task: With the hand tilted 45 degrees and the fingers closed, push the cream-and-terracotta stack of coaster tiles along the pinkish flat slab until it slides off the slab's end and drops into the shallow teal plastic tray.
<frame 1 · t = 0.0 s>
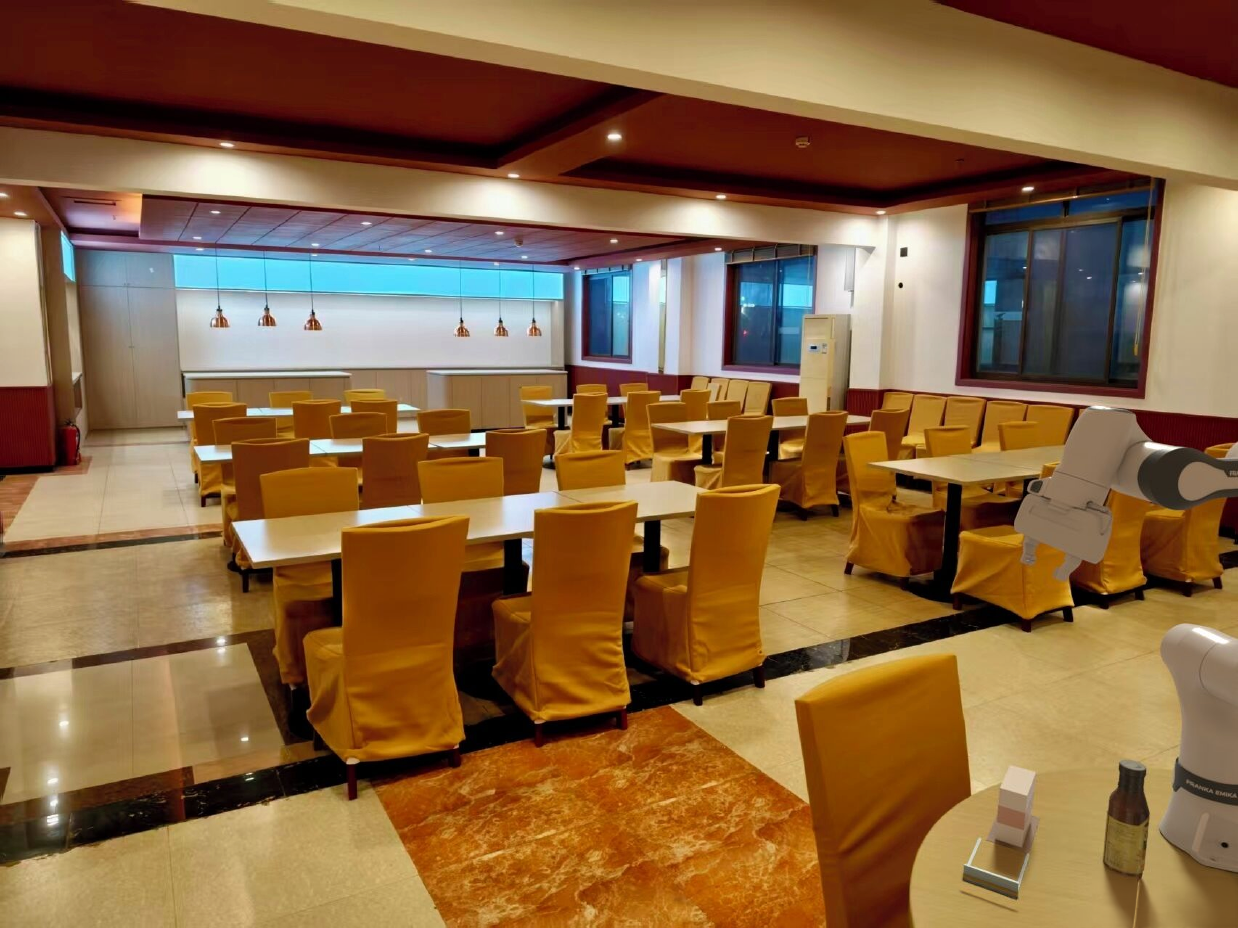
hand: (1042, 571, 146), 52 cm above the table, tool tilted 20°, fingers open, 8 cm apart
sauce bottle: (1121, 873, 148), on the table
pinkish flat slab: (1013, 836, 158), on the table
tile stack: (1013, 829, 157), point 1 cm above the table, touching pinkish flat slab
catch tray: (996, 871, 148), on the table
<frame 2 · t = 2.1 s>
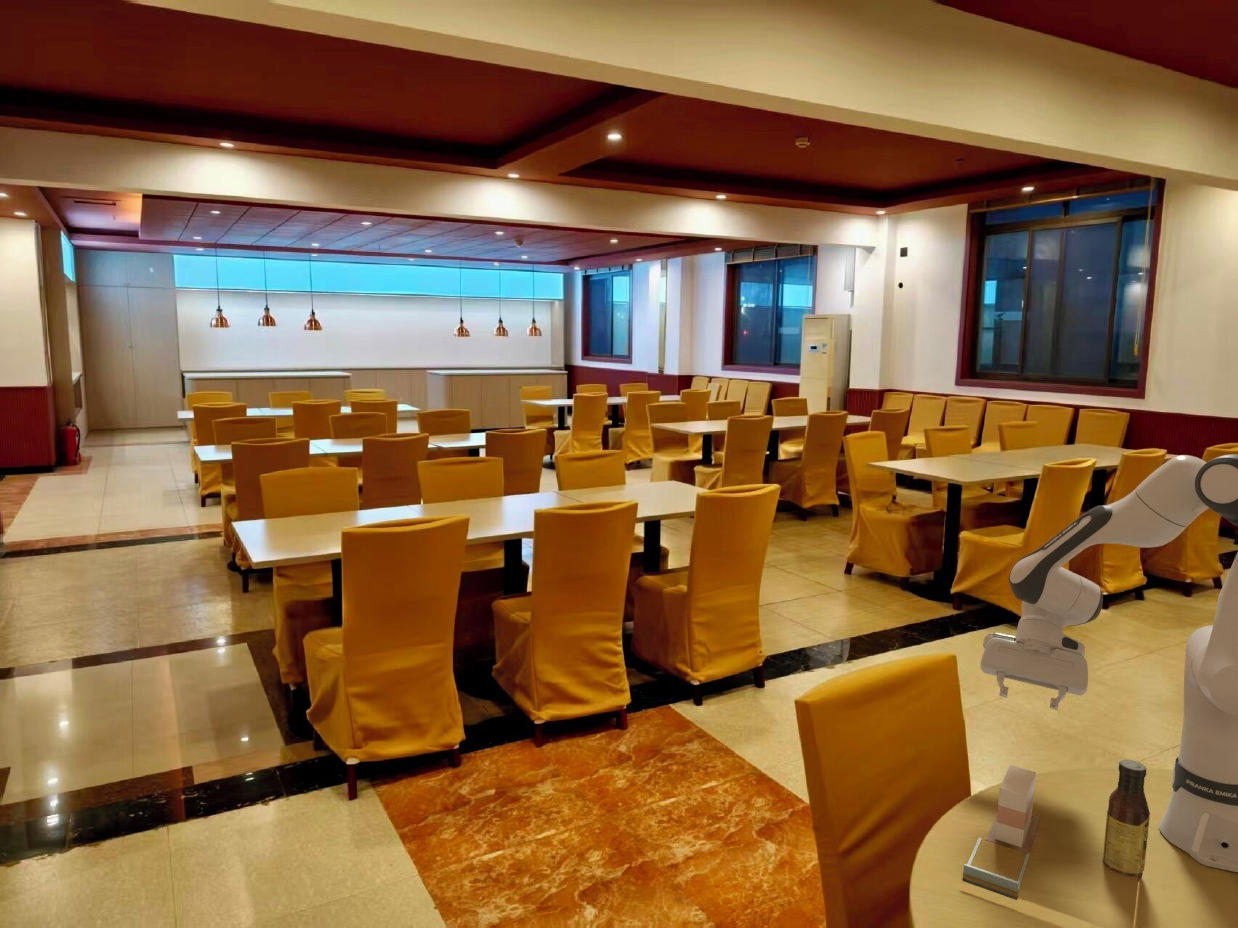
hand: (1028, 702, 175), 17 cm above the table, tool tilted 45°, fingers open, 8 cm apart
nothing on the table moved.
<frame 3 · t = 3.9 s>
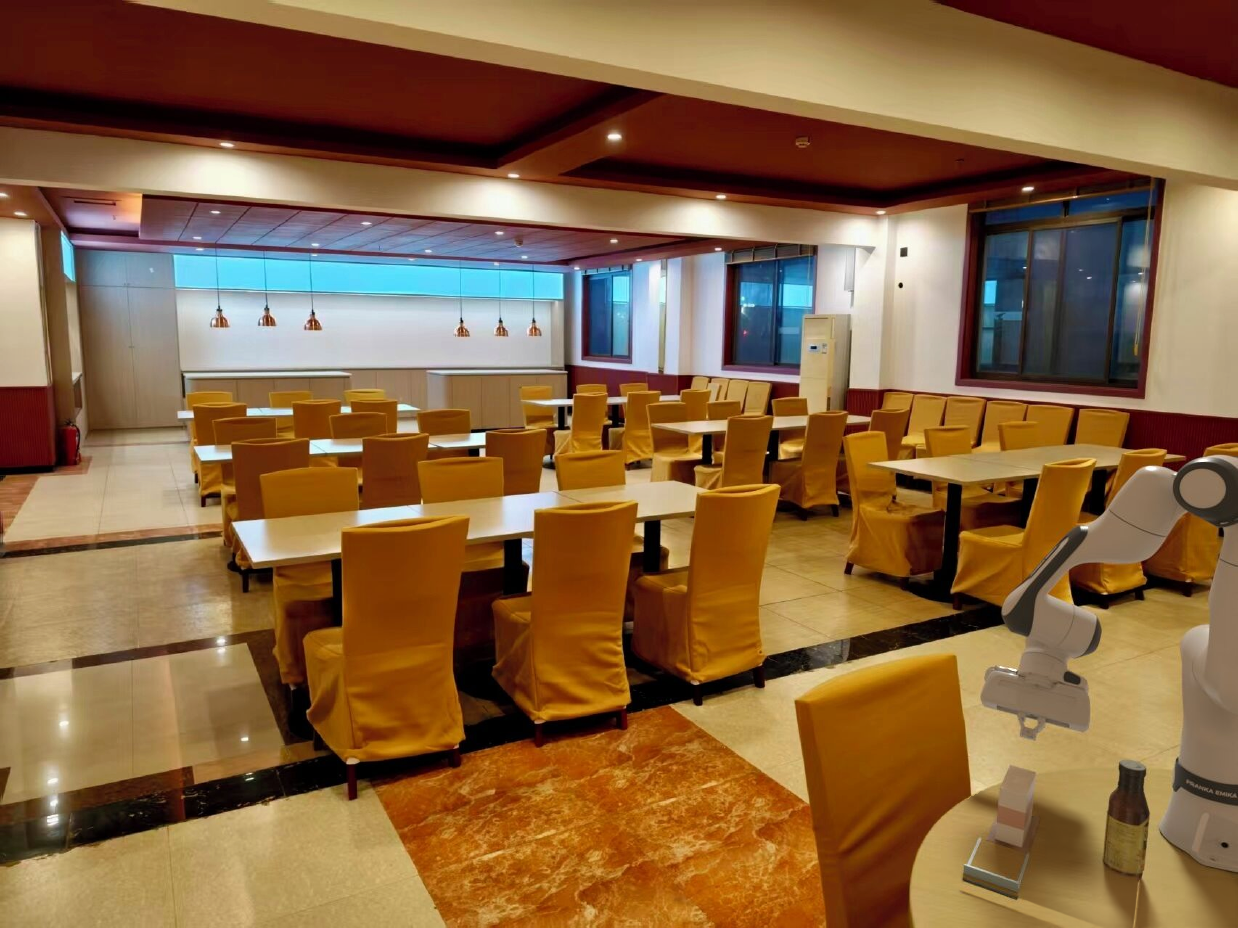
hand: (1027, 737, 171), 12 cm above the table, tool tilted 45°, fingers closed
nothing on the table moved.
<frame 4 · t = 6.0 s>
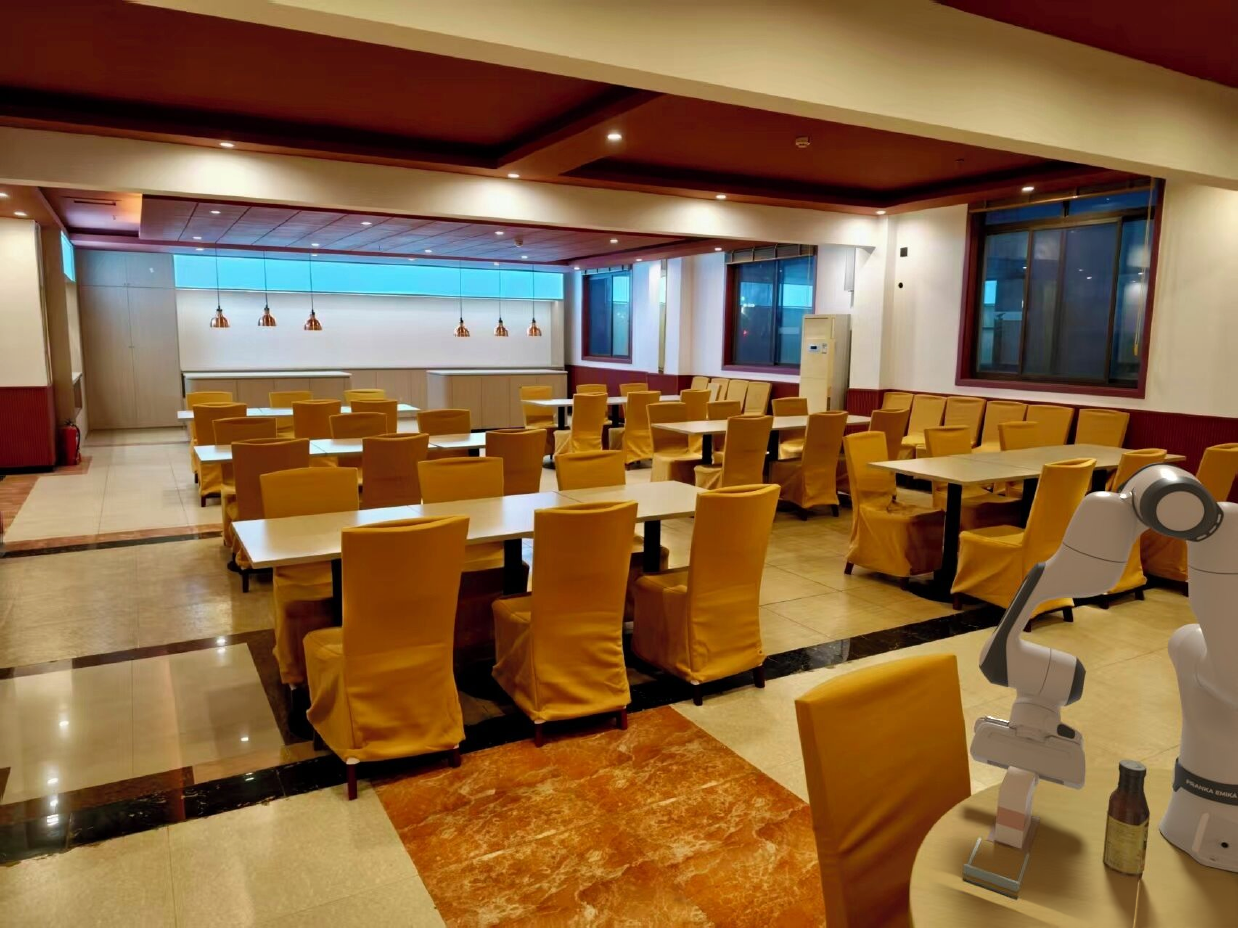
hand: (1019, 795, 161), 6 cm above the table, tool tilted 45°, fingers closed
tile stack: (1012, 831, 157), point 2 cm above the table
everything else where it was.
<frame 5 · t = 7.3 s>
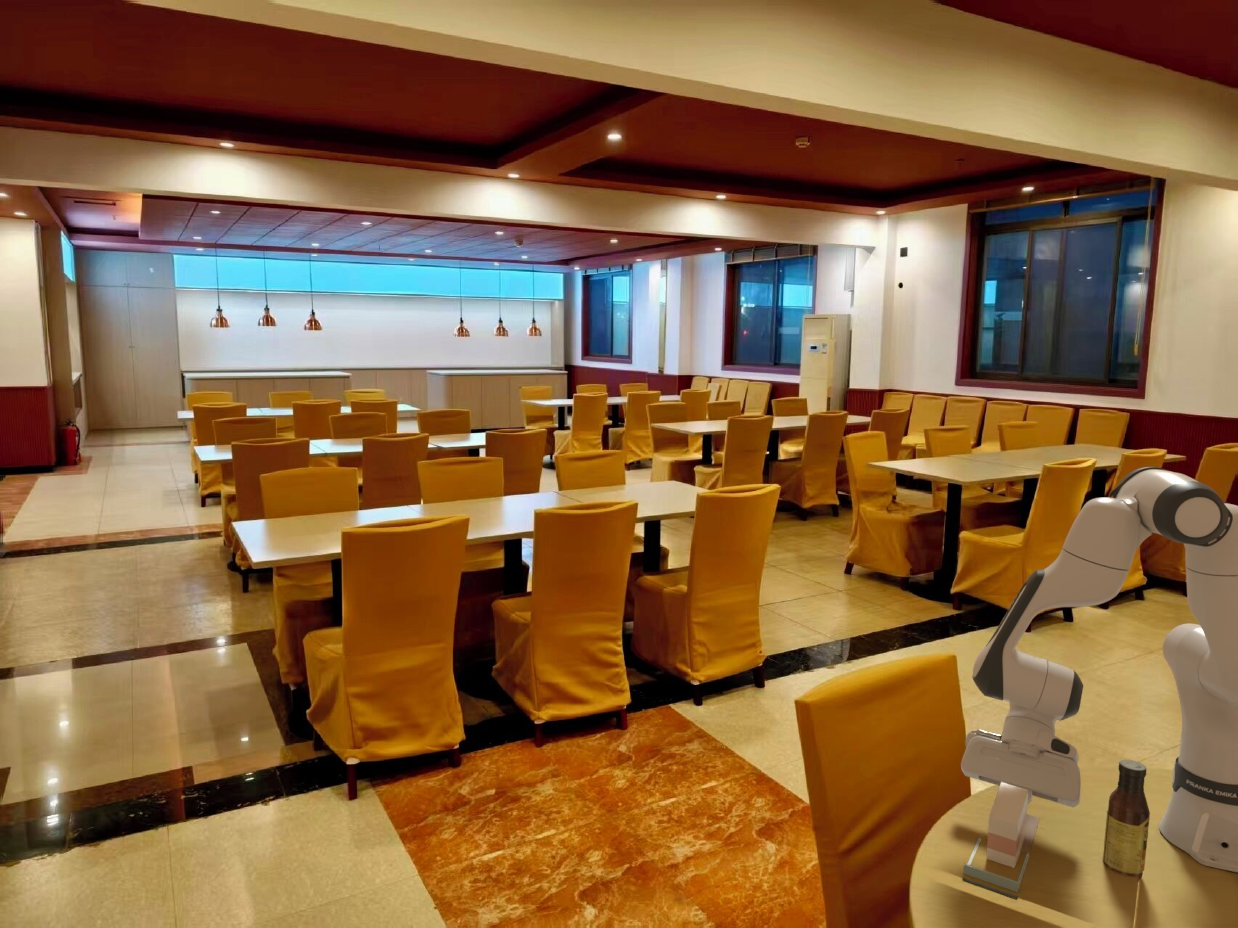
hand: (1012, 813, 155), 6 cm above the table, tool tilted 45°, fingers closed
tile stack: (1006, 849, 152), point 1 cm above the table, tilted 10°, touching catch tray
everything else where it was.
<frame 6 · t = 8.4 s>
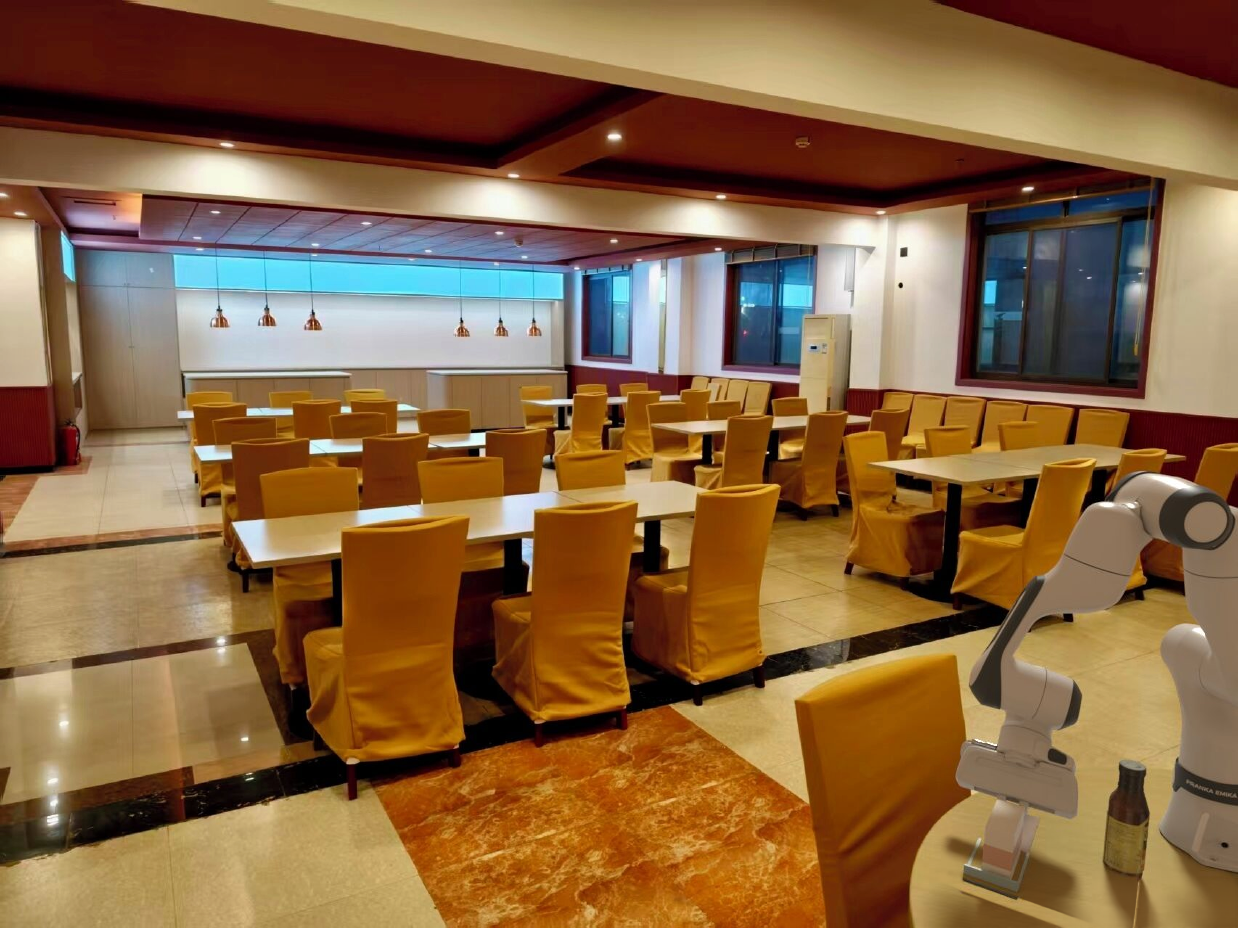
hand: (1008, 825, 151), 6 cm above the table, tool tilted 45°, fingers closed, pressing on tile stack
tile stack: (1000, 869, 147), resting on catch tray, touching gripper
everything else where it was.
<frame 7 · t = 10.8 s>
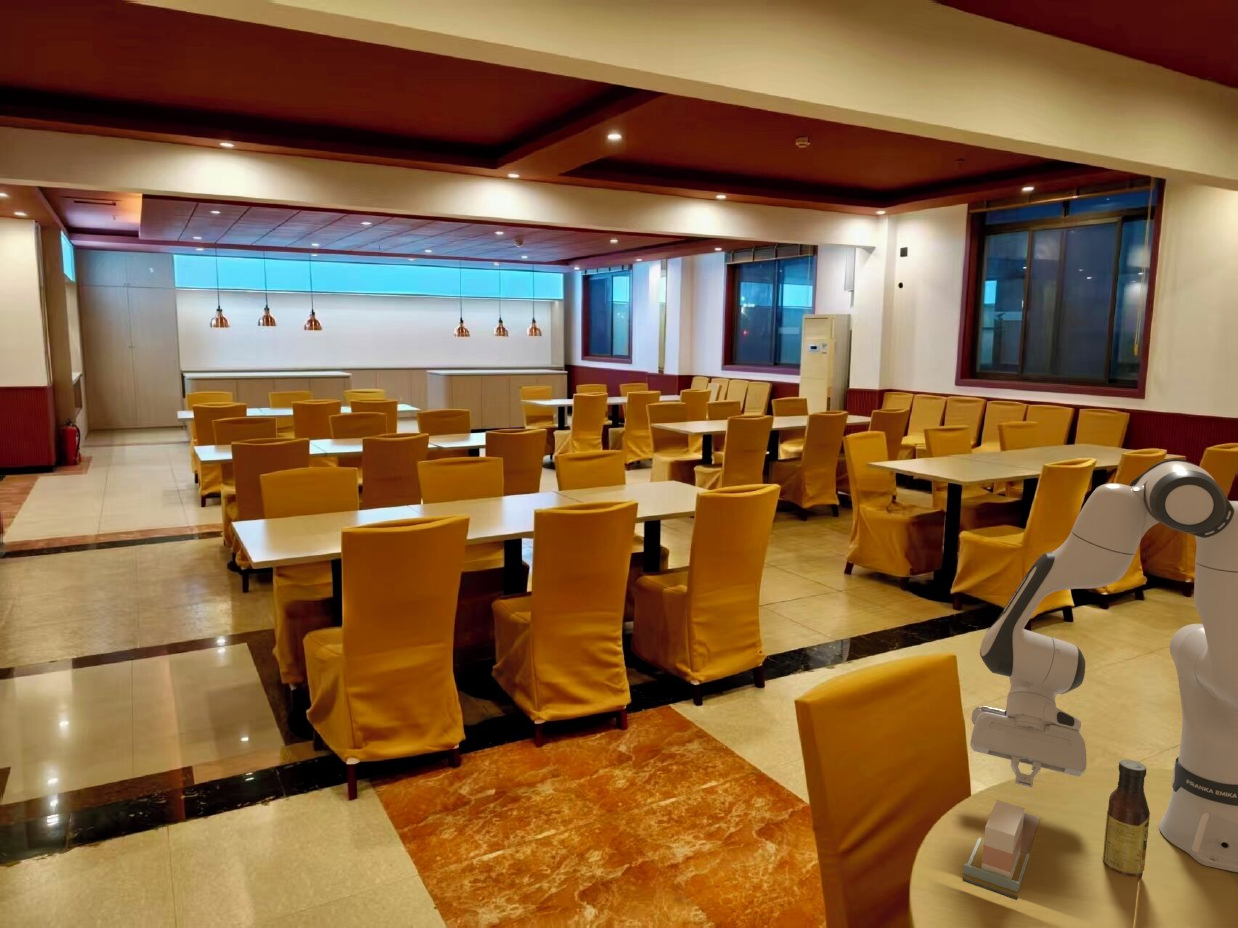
hand: (1023, 784, 161), 8 cm above the table, tool tilted 45°, fingers closed
tile stack: (1000, 870, 147), resting on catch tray
everything else where it was.
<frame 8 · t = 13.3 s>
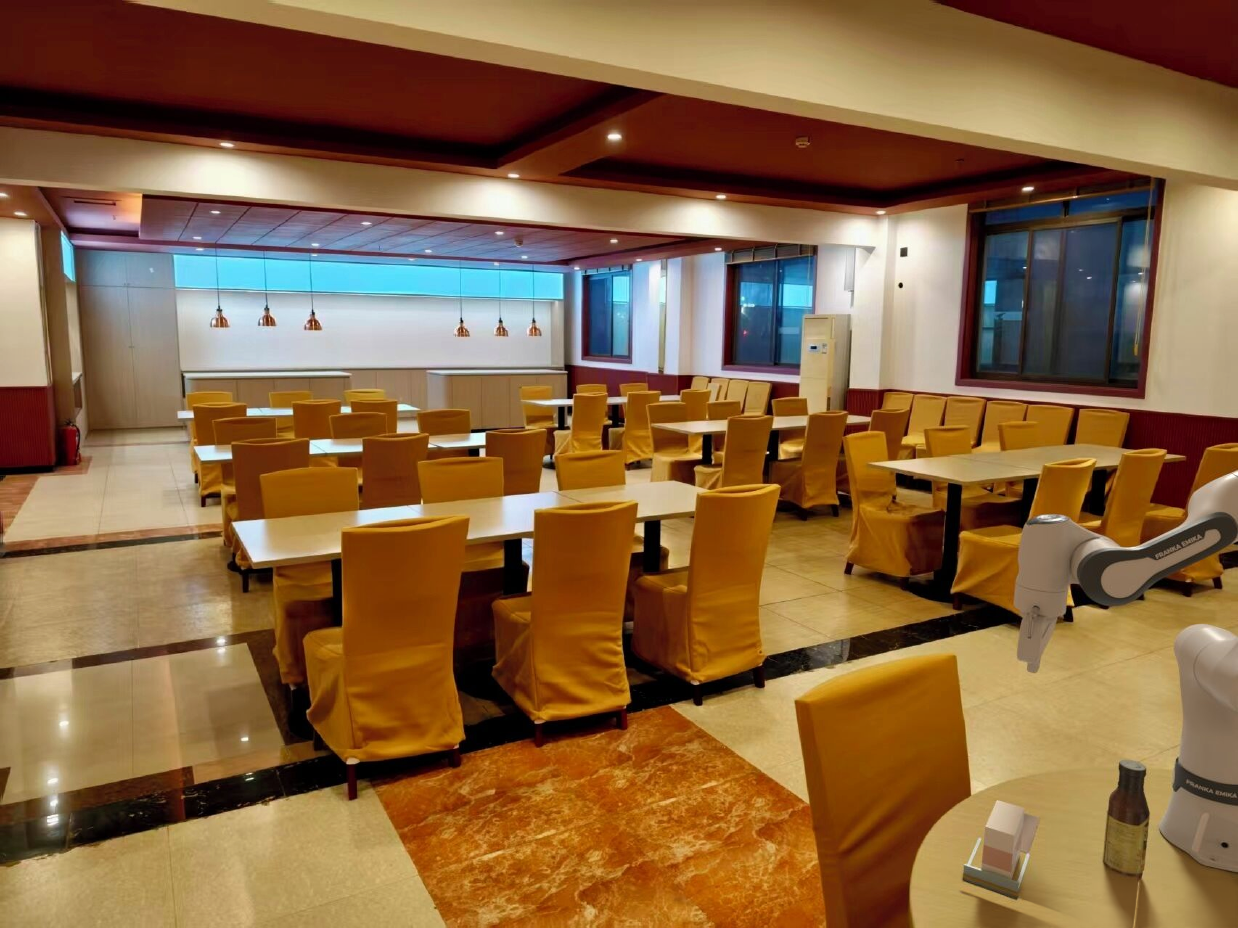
hand: (1033, 670, 161), 29 cm above the table, tool pointing down, fingers closed
nothing on the table moved.
at the end: tile stack 0.6 cm off-centre on the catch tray, point 0.5 cm above the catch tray's base; tile stack tilted 0° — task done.
